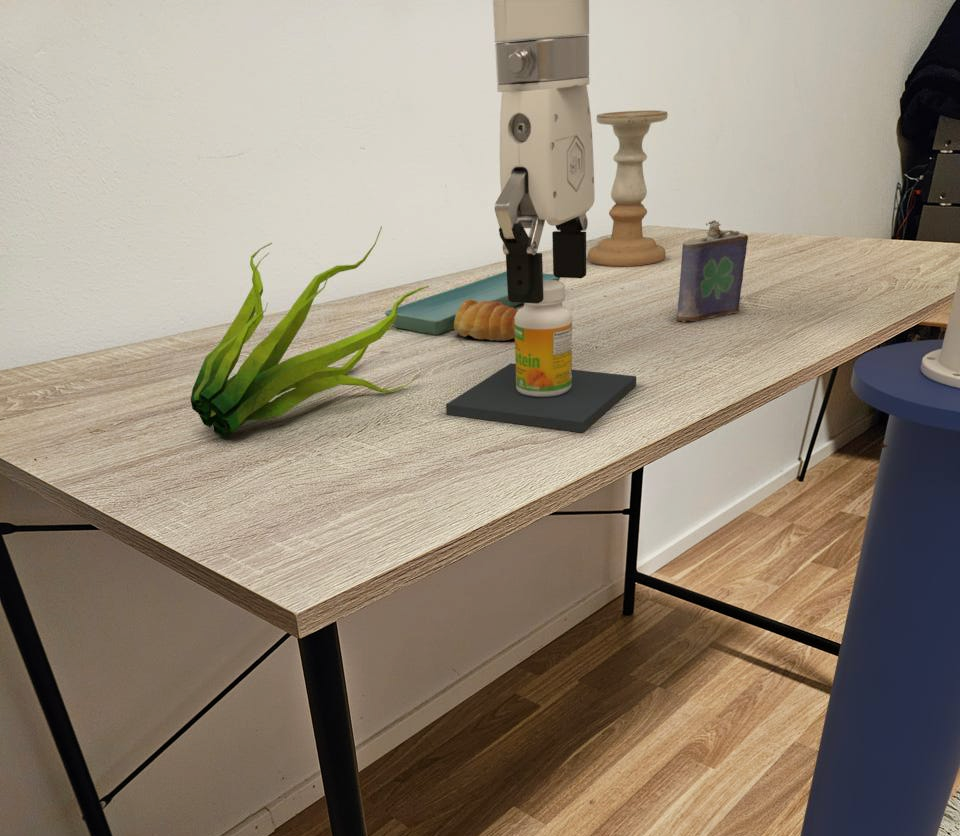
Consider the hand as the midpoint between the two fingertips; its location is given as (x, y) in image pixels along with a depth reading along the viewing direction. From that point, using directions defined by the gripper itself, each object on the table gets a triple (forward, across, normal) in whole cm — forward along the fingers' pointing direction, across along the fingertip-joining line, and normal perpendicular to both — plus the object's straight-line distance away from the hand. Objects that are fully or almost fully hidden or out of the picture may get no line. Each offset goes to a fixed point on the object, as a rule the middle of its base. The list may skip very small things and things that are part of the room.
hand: (548, 289), depth 81 cm
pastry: (+10, +20, +17) cm, 28 cm away
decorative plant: (+10, -6, +24) cm, 26 cm away
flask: (+11, +36, -5) cm, 38 cm away
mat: (+10, 0, +1) cm, 10 cm away
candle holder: (+11, +67, +17) cm, 70 cm away
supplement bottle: (+10, 0, +1) cm, 10 cm away
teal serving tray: (+10, +30, +24) cm, 40 cm away
